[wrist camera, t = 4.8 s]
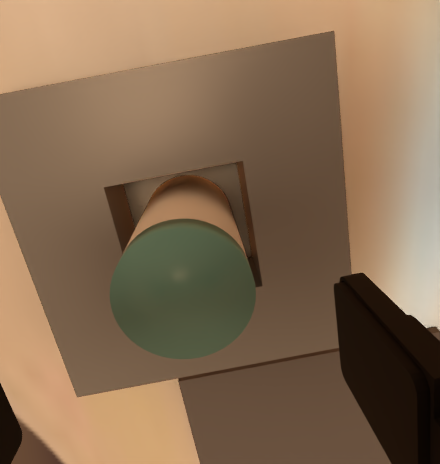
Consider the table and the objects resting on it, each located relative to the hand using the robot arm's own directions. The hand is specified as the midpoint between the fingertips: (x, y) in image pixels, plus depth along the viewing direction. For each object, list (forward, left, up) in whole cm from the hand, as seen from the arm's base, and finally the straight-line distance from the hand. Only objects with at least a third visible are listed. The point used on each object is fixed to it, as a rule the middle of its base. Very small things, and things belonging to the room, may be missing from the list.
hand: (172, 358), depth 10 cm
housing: (0, 0, -13) cm, 13 cm away
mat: (-6, +19, -13) cm, 24 cm away
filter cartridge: (0, 0, -13) cm, 13 cm away
